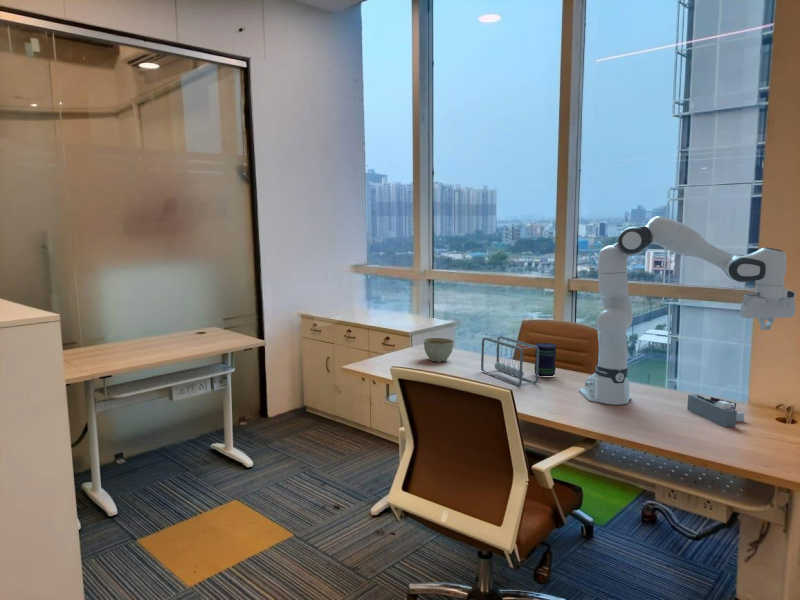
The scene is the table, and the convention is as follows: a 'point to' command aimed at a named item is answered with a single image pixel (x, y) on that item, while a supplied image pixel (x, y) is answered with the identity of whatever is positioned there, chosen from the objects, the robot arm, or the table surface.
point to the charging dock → (714, 410)
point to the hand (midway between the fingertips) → (765, 329)
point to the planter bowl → (438, 348)
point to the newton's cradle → (508, 368)
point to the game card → (733, 405)
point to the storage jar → (546, 359)
